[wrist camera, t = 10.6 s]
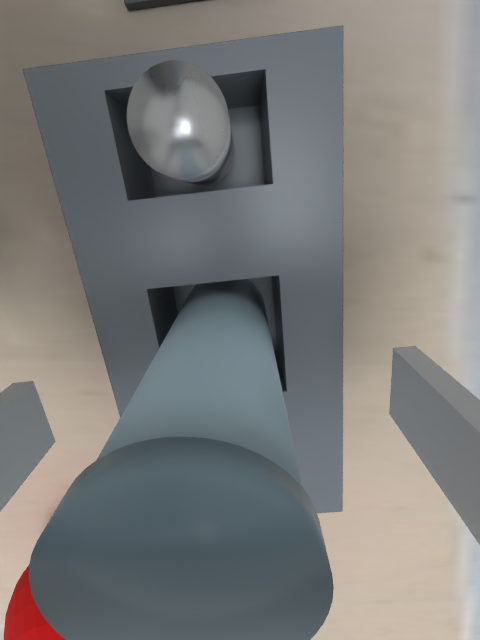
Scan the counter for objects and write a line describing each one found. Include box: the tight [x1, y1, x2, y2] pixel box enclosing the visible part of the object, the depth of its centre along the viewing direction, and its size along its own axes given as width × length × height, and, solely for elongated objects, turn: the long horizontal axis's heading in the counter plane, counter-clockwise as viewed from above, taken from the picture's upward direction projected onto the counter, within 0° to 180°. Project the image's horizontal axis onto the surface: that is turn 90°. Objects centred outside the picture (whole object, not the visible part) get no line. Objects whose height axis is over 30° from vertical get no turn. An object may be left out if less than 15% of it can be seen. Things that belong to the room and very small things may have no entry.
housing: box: [23, 26, 343, 513], centre depth 19 cm, size 24×12×6 cm, turn 6°
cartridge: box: [29, 279, 333, 640], centre depth 13 cm, size 5×5×16 cm
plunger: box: [127, 60, 234, 186], centre depth 13 cm, size 3×3×7 cm
